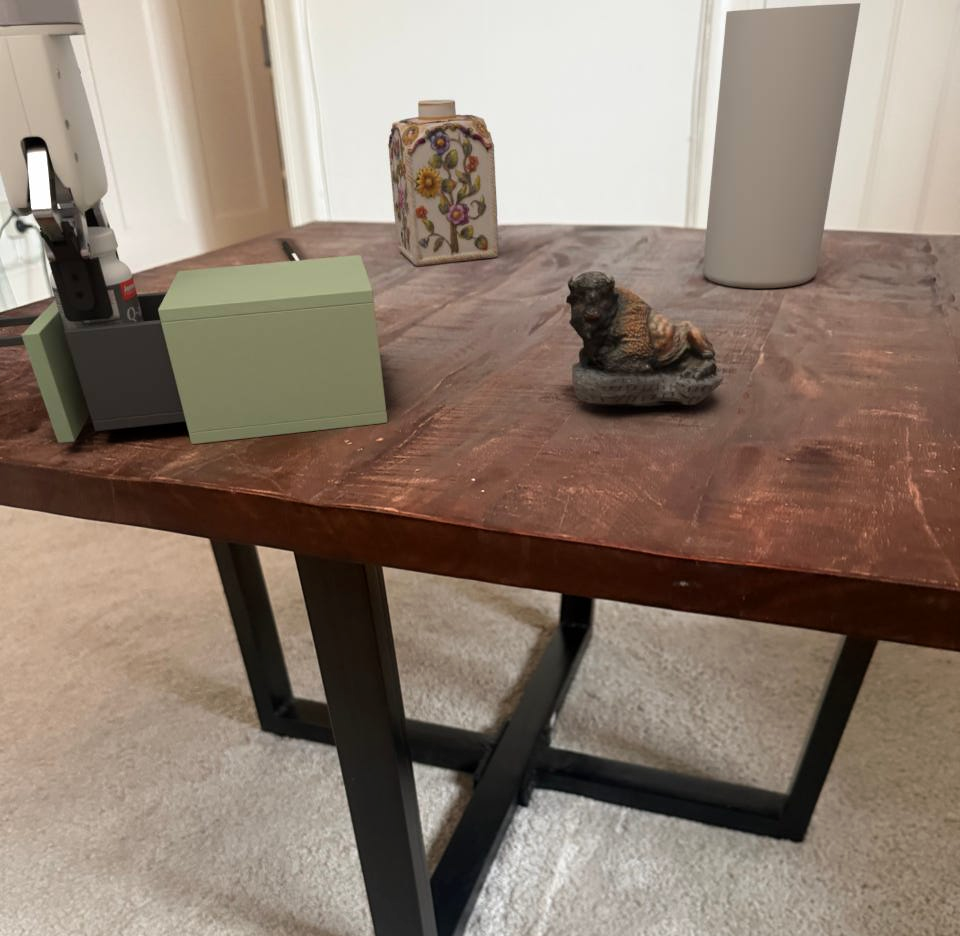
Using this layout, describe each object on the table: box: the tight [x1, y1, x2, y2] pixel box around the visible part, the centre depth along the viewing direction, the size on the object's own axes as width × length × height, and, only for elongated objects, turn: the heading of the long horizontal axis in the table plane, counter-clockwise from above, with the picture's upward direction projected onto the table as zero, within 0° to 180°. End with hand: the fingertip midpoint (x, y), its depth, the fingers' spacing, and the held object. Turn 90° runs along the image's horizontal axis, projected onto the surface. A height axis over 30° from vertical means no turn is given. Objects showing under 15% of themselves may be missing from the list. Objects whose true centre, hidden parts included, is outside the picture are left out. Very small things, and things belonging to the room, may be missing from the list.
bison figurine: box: [565, 270, 724, 408], centre depth 64 cm, size 12×7×10 cm, turn 97°
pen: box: [281, 240, 300, 261], centre depth 121 cm, size 1×19×1 cm, turn 17°
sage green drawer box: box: [158, 254, 388, 445], centre depth 69 cm, size 15×13×10 cm
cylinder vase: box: [702, 2, 861, 289], centre depth 92 cm, size 12×12×25 cm
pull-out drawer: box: [0, 291, 186, 444], centre depth 67 cm, size 19×12×8 cm, turn 100°
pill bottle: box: [49, 227, 144, 330], centre depth 65 cm, size 6×6×10 cm
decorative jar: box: [387, 99, 499, 267], centre depth 113 cm, size 12×12×18 cm
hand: (98, 305), depth 65 cm, fingers closed on pill bottle, 5 cm apart
